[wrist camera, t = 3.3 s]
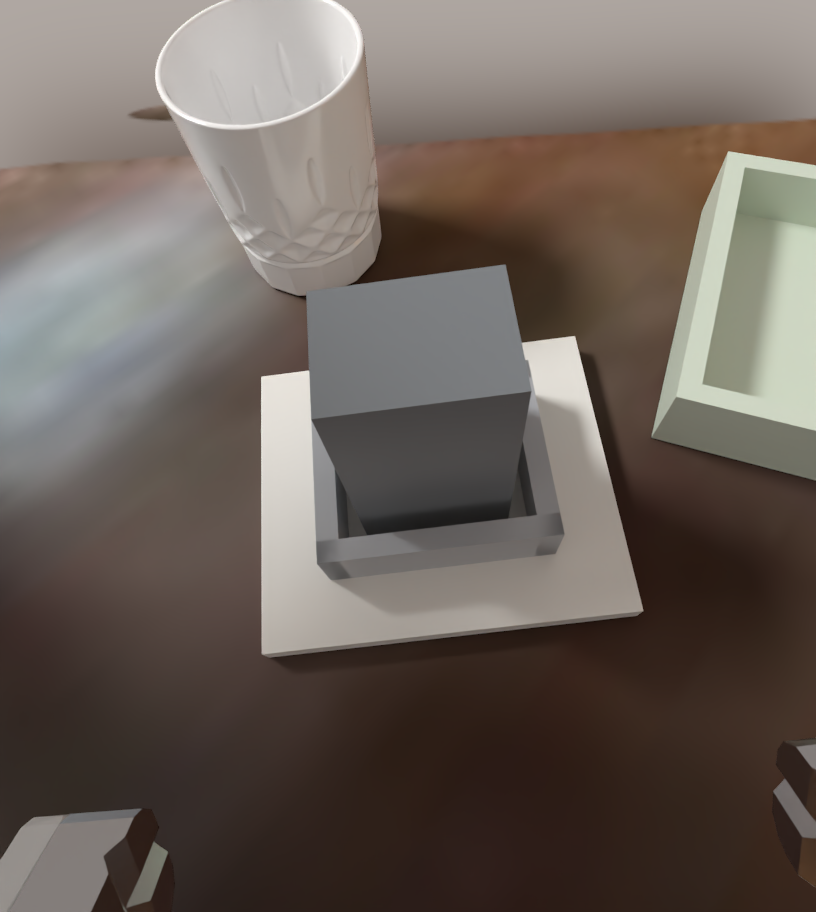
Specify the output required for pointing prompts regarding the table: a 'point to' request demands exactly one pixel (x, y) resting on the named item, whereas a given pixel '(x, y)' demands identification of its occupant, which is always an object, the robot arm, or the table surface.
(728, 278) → the sage tray
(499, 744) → the table surface
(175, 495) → the table surface
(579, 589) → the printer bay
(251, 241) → the white cup
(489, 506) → the gray rectangular block
